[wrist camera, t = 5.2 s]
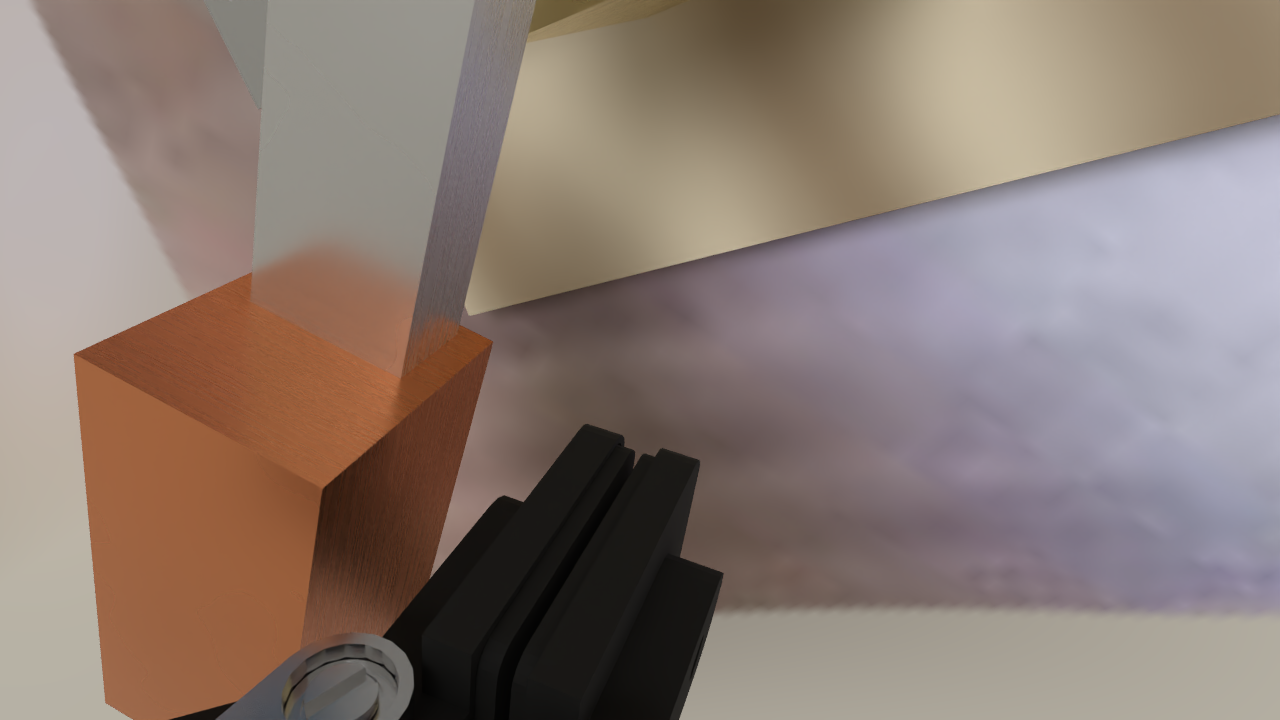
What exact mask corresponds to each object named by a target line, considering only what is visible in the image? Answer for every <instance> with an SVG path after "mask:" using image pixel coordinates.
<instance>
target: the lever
mask: <svg viewBox="0 0 1280 720" xmlns="http://www.w3.org/2000/svg"><path fill="white" fill-rule="evenodd" d="M535 4H536V0H268V9H267V26H266V43H265V60H264V77H263V94H262V111H261V128H260V145H259V162H258V179H257V196H256V213H255V230H254V247H253V264H252V272H251V273H249V274H247V275H245V276H243V277H240V278H238V279H236V280H234V281H232V282H230V283H227V284H225V285H223V286H221V287H219V288H216V289H214V290H212V291H210V292H208V293H206V294H203V295H201V296H199V297H197V298H195V299H192V300H190V301H188V302H186V303H184V304H182V305H179V306H177V307H175V308H173V309H171V310H169V311H166V312H164V313H162V314H160V315H158V316H155V317H153V318H151V319H149V320H147V321H144V322H142V323H140V324H138V325H136V326H134V327H131V328H129V329H127V330H125V331H123V332H121V333H119V334H116V335H114V336H112V337H110V338H107V339H105V340H103V341H101V342H99V343H97V344H95V345H92V346H90V347H88V348H86V349H83V350H81V351H79V352H77V353H75V354H74V363H75V374H76V384H77V396H78V405H79V406H78V407H79V416H80V428H81V440H82V451H83V461H84V472H85V483H86V494H87V505H88V515H89V526H90V538H91V549H92V560H93V571H94V582H95V593H96V604H97V615H98V626H99V637H100V648H101V659H102V670H103V681H104V692H105V702H106V704H108V705H110V706H112V707H113V708H115V709H116V710H118V711H120V712H121V713H123V714H125V715H126V716H128V717H130V718H132V719H133V720H169V719H173V718H177V717H181V716H184V715H188V714H192V713H195V712H199V711H203V710H206V709H210V708H214V707H217V706H221V705H225V704H229V703H232V702H236V701H238V700H239V699H240V698H242V697H243V696H244V695H245V694H246V693H248V692H249V691H250V690H251V689H252V688H253V687H255V686H256V685H257V684H258V683H259V682H261V681H262V680H263V679H264V678H265V677H267V676H268V675H269V674H270V673H271V672H272V671H274V670H275V669H276V668H277V667H278V666H280V665H281V664H282V663H283V662H284V661H285V660H287V659H288V658H289V657H290V656H292V655H293V654H295V653H296V652H298V651H299V650H301V649H302V648H304V647H305V646H307V645H308V644H310V643H312V642H315V641H317V640H320V639H323V638H325V637H328V636H331V635H336V634H343V633H350V632H358V633H367V634H375V635H377V636H380V637H382V636H383V635H384V634H385V633H386V632H387V630H388V629H389V628H390V627H391V626H392V624H393V623H394V622H395V621H396V619H397V618H398V617H399V616H400V615H401V613H402V612H403V611H404V610H405V609H406V607H407V606H408V605H409V604H410V603H411V601H412V600H413V599H414V598H415V596H416V595H417V594H418V593H419V592H420V590H421V589H422V588H423V587H424V586H425V584H426V583H427V582H428V581H429V579H430V575H431V571H432V568H433V564H434V560H435V556H436V553H437V549H438V545H439V542H440V538H441V534H442V530H443V527H444V523H445V519H446V516H447V512H448V508H449V504H450V501H451V497H452V493H453V489H454V486H455V482H456V478H457V475H458V471H459V467H460V463H461V460H462V456H463V452H464V449H465V445H466V441H467V437H468V434H469V430H470V426H471V423H472V419H473V415H474V411H475V408H476V404H477V400H478V396H479V393H480V389H481V385H482V382H483V378H484V374H485V370H486V367H487V363H488V359H489V356H490V352H491V348H492V344H493V341H491V340H489V339H487V338H485V337H483V336H481V335H479V334H477V333H475V332H473V331H471V330H469V329H467V328H465V327H463V326H461V325H460V321H461V317H462V312H463V308H464V304H465V300H466V295H467V291H468V287H469V283H470V279H471V274H472V270H473V266H474V262H475V257H476V253H477V249H478V245H479V241H480V236H481V232H482V228H483V224H484V219H485V215H486V211H487V207H488V202H489V198H490V194H491V190H492V186H493V181H494V177H495V173H496V169H497V164H498V160H499V156H500V152H501V148H502V143H503V139H504V135H505V131H506V126H507V122H508V118H509V114H510V109H511V105H512V101H513V97H514V93H515V88H516V84H517V80H518V76H519V71H520V67H521V63H522V59H523V55H524V50H525V46H526V42H527V38H528V33H529V29H530V25H531V21H532V16H533V12H534V8H535Z"/></svg>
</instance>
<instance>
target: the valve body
mask: <svg viewBox="0 0 1280 720" xmlns="http://www.w3.org/2000/svg"><path fill="white" fill-rule="evenodd" d="M687 1H689V0H536V4H535V8H534V12H533V16H532V21H531V25H530V29H529V33H528V38H527V42H526V43H529V42H534V41H538V40H543V39H548V38H553V37H558V36H562V35H567V34H572V33H577V32H581V31H586V30H591V29H596V28H601V27H605V26H610V25H615V24H620V23H624V22H629V21H634V20H639V19H644V18H647V17H650V16H652V15H655V14H657V13H660V12H662V11H665V10H667V9H670V8H672V7H674V6H677V5H679V4H682V3H684V2H687ZM204 2H205V4H206V6H207V8H208V10H209V12H210V14H211V16H212V18H213V20H214V22H215V24H216V26H217V28H218V30H219V32H220V34H221V36H222V38H223V40H224V42H225V44H226V46H227V48H228V50H229V52H230V54H231V56H232V58H233V60H234V62H235V64H236V66H237V68H238V70H239V72H240V74H241V76H242V78H243V80H244V82H245V84H246V86H247V88H248V90H249V92H250V94H251V96H252V98H253V100H254V102H255V104H256V106H257V108H258V109H261V108H262V94H263V77H264V60H265V43H266V26H267V9H268V0H204Z"/></svg>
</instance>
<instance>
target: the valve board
mask: <svg viewBox="0 0 1280 720" xmlns="http://www.w3.org/2000/svg"><path fill="white" fill-rule="evenodd" d="M1279 114H1280V0H689V1H687V2H684V3H682V4H679V5H677V6H674V7H672V8H670V9H667V10H665V11H662V12H660V13H657V14H655V15H652V16H650V17H647V18H644V19H639V20H634V21H629V22H624V23H620V24H615V25H610V26H605V27H601V28H596V29H591V30H586V31H581V32H577V33H572V34H567V35H562V36H558V37H553V38H548V39H543V40H538V41H534V42H529V43H526V46H525V50H524V55H523V59H522V63H521V67H520V71H519V76H518V80H517V84H516V88H515V93H514V97H513V101H512V105H511V109H510V114H509V118H508V122H507V126H506V131H505V135H504V139H503V143H502V148H501V152H500V156H499V160H498V164H497V169H496V173H495V177H494V181H493V186H492V190H491V194H490V198H489V202H488V207H487V211H486V215H485V219H484V224H483V228H482V232H481V236H480V241H479V245H478V249H477V253H476V257H475V262H474V266H473V270H472V274H471V279H470V283H469V287H468V291H467V295H466V300H465V304H464V305H465V307H466V310H467V312H468V314H469V316H471V315H475V314H479V313H483V312H487V311H491V310H495V309H499V308H503V307H507V306H511V305H515V304H519V303H523V302H527V301H531V300H535V299H539V298H543V297H547V296H551V295H555V294H559V293H563V292H567V291H571V290H575V289H579V288H583V287H587V286H591V285H595V284H599V283H603V282H607V281H611V280H615V279H619V278H623V277H627V276H631V275H635V274H639V273H643V272H647V271H651V270H656V269H660V268H664V267H668V266H672V265H676V264H680V263H684V262H688V261H692V260H696V259H700V258H704V257H708V256H712V255H716V254H720V253H724V252H728V251H732V250H736V249H740V248H744V247H748V246H752V245H756V244H760V243H764V242H768V241H772V240H776V239H780V238H784V237H788V236H792V235H796V234H800V233H804V232H808V231H812V230H816V229H820V228H824V227H828V226H832V225H836V224H841V223H845V222H849V221H853V220H857V219H861V218H865V217H869V216H873V215H877V214H881V213H885V212H889V211H893V210H897V209H901V208H905V207H909V206H913V205H917V204H921V203H925V202H929V201H933V200H937V199H941V198H945V197H949V196H953V195H957V194H961V193H965V192H969V191H973V190H977V189H981V188H985V187H989V186H993V185H997V184H1001V183H1005V182H1009V181H1013V180H1017V179H1021V178H1025V177H1030V176H1034V175H1038V174H1042V173H1046V172H1050V171H1054V170H1058V169H1062V168H1066V167H1070V166H1074V165H1078V164H1082V163H1086V162H1090V161H1094V160H1098V159H1102V158H1106V157H1110V156H1114V155H1118V154H1122V153H1126V152H1130V151H1134V150H1138V149H1142V148H1146V147H1150V146H1154V145H1158V144H1162V143H1166V142H1170V141H1174V140H1178V139H1182V138H1186V137H1190V136H1194V135H1198V134H1202V133H1206V132H1210V131H1215V130H1219V129H1223V128H1227V127H1231V126H1235V125H1239V124H1243V123H1247V122H1251V121H1255V120H1259V119H1263V118H1267V117H1271V116H1275V115H1279Z"/></svg>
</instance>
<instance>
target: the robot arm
mask: <svg viewBox="0 0 1280 720" xmlns="http://www.w3.org/2000/svg"><path fill="white" fill-rule="evenodd" d="M634 459H635V451H634V450H632V449H629V448H626V447H624V437H623V435H620V434H616V433H613V432H610V431H607V430H604V429H601V428H598V427H595V426H592V425H589V424H585V425H584V426H583V427H582V428H581V429H580V430H579V431H578V432H577V434H576V435H575V436H574V438H573V439H572V440H571V442H570V443H569V444H568V445H567V447H566V448H565V449H564V451H563V452H562V453H561V455H560V456H559V457H558V458H557V460H556V461H555V462H554V464H553V465H552V466H551V468H550V469H549V470H548V471H547V473H546V474H545V475H544V477H543V478H542V479H541V481H540V482H539V483H538V484H537V486H536V487H535V488H534V490H533V491H532V492H531V494H530V495H529V496H528V497H527V499H526V500H525V501H524V502H521V501H518V500H516V499H513V498H510V497H507V496H502V497H499V498H498V499H497V500H496V501H495V502H494V503H492V504H491V506H490V507H489V508H488V509H487V510H486V512H485V513H484V514H483V515H482V516H481V518H480V519H479V520H478V521H477V523H476V524H475V525H474V526H473V527H472V529H471V530H470V531H469V532H468V533H467V535H466V536H465V537H464V538H463V540H462V541H461V542H460V543H459V544H458V546H457V547H456V548H455V549H454V550H453V552H452V553H451V554H450V555H449V556H448V558H447V559H446V560H445V561H444V563H443V564H442V565H441V566H440V567H439V569H438V570H437V571H436V572H435V573H434V575H433V576H432V577H431V578H430V579H429V581H428V582H427V583H426V584H425V586H424V587H423V588H422V589H421V590H420V592H419V593H418V594H417V595H416V596H415V598H414V599H413V600H412V601H411V603H410V604H409V605H408V606H407V607H406V609H405V610H404V611H403V612H402V613H401V615H400V616H399V617H398V618H397V619H396V621H395V622H394V623H393V624H392V626H391V627H390V628H389V629H388V630H387V632H386V633H385V634H384V635H383V636H382V637H380V636H377V635H375V634H367V633H358V632H350V633H343V634H336V635H331V636H328V637H325V638H323V639H320V640H317V641H315V642H312V643H310V644H308V645H307V646H305V647H304V648H302V649H301V650H299V651H298V652H296V653H295V654H293V655H292V656H290V657H289V658H288V659H287V660H285V661H284V662H283V663H282V664H281V665H280V666H278V667H277V668H276V669H275V670H274V671H272V672H271V673H270V674H269V675H268V676H267V677H265V678H264V679H263V680H262V681H261V682H259V683H258V684H257V685H256V686H255V687H253V688H252V689H251V690H250V691H249V692H248V693H246V694H245V695H244V696H243V697H242V698H240V699H239V700H238V701H236V702H232V703H229V704H225V705H221V706H217V707H214V708H210V709H206V710H203V711H199V712H195V713H192V714H188V715H184V716H181V717H177V718H173V719H169V720H679V718H680V715H681V712H682V709H683V706H684V703H685V701H686V698H687V695H688V692H689V689H690V686H691V683H692V680H693V678H694V675H695V672H696V669H697V666H698V662H699V659H700V657H701V654H702V650H703V647H704V644H705V641H706V638H707V634H708V631H709V627H710V624H711V621H712V617H713V614H714V610H715V606H716V602H717V599H718V595H719V591H720V587H721V583H722V579H723V574H724V573H722V572H719V571H716V570H713V569H711V568H708V567H705V566H702V565H699V564H697V563H694V562H691V561H688V560H685V559H682V558H680V553H681V549H682V544H683V540H684V535H685V531H686V526H687V522H688V517H689V513H690V508H691V504H692V499H693V495H694V490H695V486H696V481H697V477H698V472H699V467H700V461H699V460H697V459H694V458H691V457H688V456H685V455H682V454H679V453H676V452H672V451H669V450H666V449H663V448H662V449H660V450H659V452H658V453H657V455H656V457H653V456H650V455H647V454H643V455H642V456H641V457H640V459H639V461H638V462H637V464H636V466H635V467H634V469H633V465H634Z"/></svg>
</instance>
